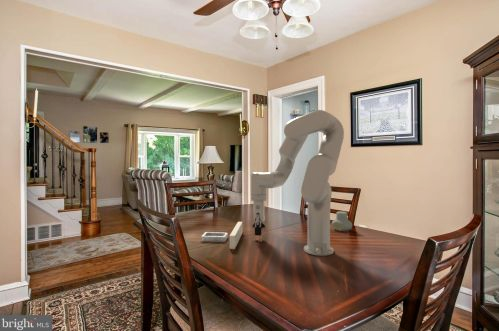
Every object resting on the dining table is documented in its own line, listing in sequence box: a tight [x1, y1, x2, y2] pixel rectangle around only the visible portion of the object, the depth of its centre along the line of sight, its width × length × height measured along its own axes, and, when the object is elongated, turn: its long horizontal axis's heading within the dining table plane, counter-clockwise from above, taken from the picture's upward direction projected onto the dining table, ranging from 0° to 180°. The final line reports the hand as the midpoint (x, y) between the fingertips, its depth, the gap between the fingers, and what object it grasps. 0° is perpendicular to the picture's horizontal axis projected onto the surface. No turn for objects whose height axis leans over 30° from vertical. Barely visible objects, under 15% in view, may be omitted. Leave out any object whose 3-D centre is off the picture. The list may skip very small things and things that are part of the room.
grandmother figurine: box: [251, 215, 267, 242], centre depth 133 cm, size 8×4×13 cm, turn 81°
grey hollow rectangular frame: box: [200, 231, 229, 243], centre depth 136 cm, size 8×12×2 cm, turn 84°
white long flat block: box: [229, 221, 243, 250], centre depth 135 cm, size 26×2×6 cm, turn 174°
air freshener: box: [331, 211, 353, 232], centre depth 153 cm, size 11×8×10 cm
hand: (258, 232), depth 133 cm, fingers open, 7 cm apart
